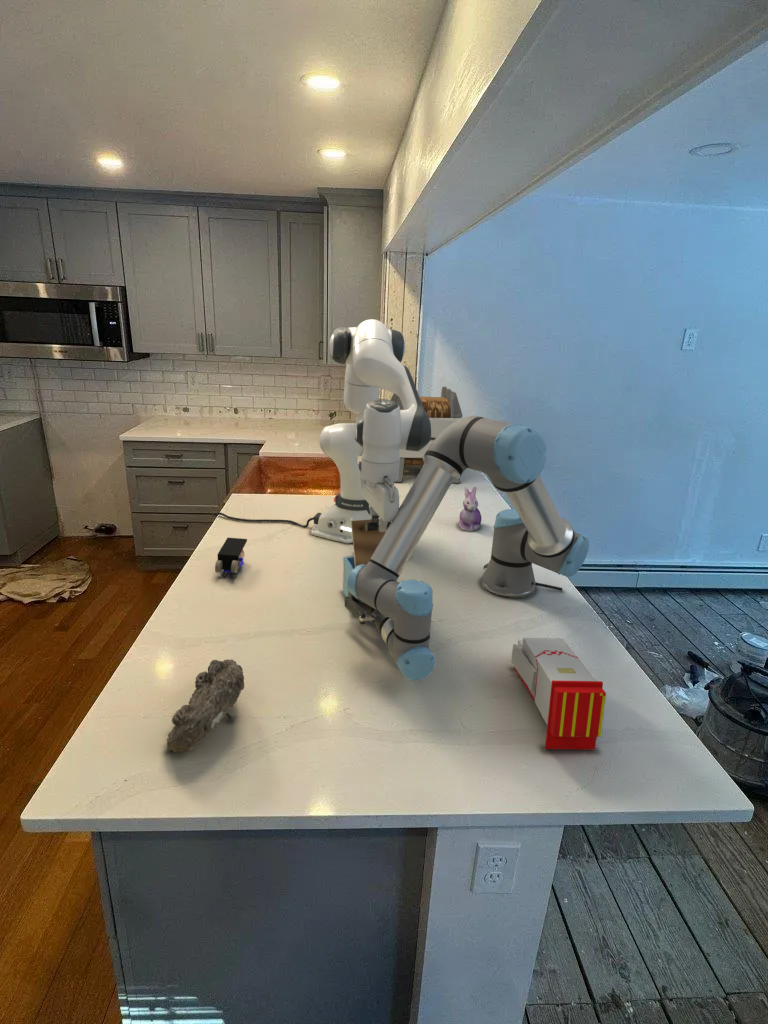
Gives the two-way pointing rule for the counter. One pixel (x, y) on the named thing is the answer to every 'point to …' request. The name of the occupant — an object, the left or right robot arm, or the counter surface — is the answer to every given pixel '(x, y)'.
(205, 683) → the fossil
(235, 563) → the black toy rover
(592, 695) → the toy
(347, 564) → the chest
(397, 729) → the counter surface
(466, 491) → the figurine
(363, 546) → the lid
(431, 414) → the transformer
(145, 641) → the counter surface
